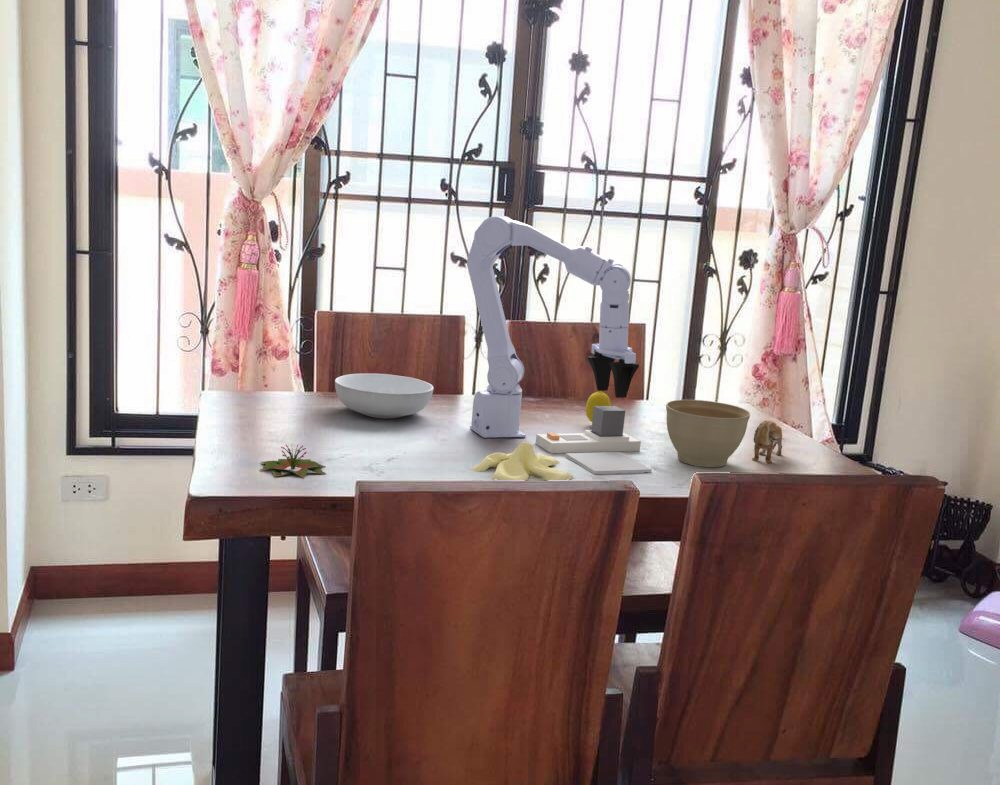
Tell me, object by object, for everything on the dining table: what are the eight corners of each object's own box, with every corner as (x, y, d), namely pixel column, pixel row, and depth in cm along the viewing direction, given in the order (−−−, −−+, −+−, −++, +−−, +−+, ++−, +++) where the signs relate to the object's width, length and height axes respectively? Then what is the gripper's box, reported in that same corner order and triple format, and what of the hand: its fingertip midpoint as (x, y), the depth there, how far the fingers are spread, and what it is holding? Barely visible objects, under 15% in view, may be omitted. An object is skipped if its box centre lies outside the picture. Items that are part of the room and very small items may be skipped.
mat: (594, 474, 183) (594, 471, 183) (565, 456, 194) (565, 453, 194) (651, 472, 188) (651, 469, 188) (619, 454, 199) (620, 451, 199)
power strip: (550, 453, 195) (551, 439, 195) (535, 443, 202) (536, 430, 201) (639, 450, 203) (641, 437, 203) (622, 441, 210) (624, 428, 209)
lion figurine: (775, 468, 199) (782, 424, 197) (748, 464, 201) (754, 420, 199) (783, 453, 212) (789, 411, 211) (757, 449, 214) (763, 407, 212)
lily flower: (315, 460, 179) (317, 435, 178) (338, 479, 168) (340, 453, 167) (248, 463, 173) (249, 437, 172) (267, 484, 163) (268, 456, 162)
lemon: (607, 430, 219) (611, 394, 217) (582, 426, 220) (586, 391, 218) (610, 425, 224) (614, 389, 223) (585, 421, 225) (589, 386, 224)
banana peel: (546, 457, 194) (550, 426, 193) (594, 486, 178) (597, 452, 177) (438, 461, 185) (441, 428, 184) (478, 491, 169) (481, 456, 167)
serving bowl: (426, 429, 206) (429, 396, 205) (324, 420, 206) (326, 387, 205) (435, 407, 226) (437, 377, 225) (342, 399, 226) (344, 369, 225)
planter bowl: (685, 446, 210) (691, 395, 208) (756, 464, 200) (764, 411, 198) (644, 458, 198) (651, 404, 196) (718, 478, 188) (726, 421, 186)
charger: (600, 440, 201) (603, 410, 200) (590, 435, 205) (593, 406, 203) (622, 439, 203) (625, 410, 202) (612, 434, 207) (616, 406, 205)
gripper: (650, 330, 195) (647, 399, 197) (613, 321, 208) (611, 386, 211) (618, 331, 192) (616, 401, 195) (583, 322, 205) (581, 388, 208)
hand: (611, 393), depth 202 cm, fingers open, 7 cm apart
